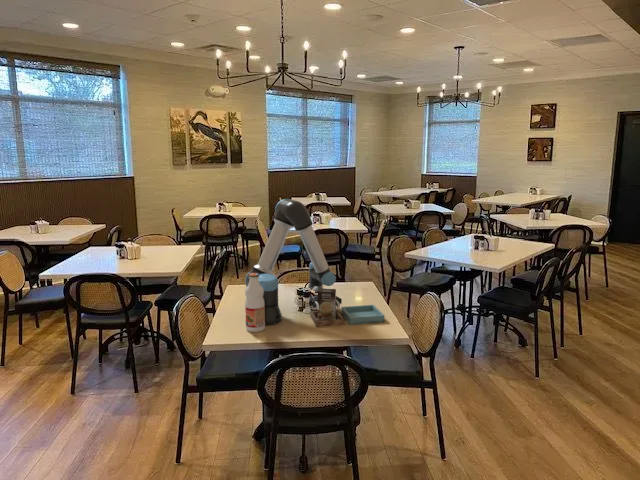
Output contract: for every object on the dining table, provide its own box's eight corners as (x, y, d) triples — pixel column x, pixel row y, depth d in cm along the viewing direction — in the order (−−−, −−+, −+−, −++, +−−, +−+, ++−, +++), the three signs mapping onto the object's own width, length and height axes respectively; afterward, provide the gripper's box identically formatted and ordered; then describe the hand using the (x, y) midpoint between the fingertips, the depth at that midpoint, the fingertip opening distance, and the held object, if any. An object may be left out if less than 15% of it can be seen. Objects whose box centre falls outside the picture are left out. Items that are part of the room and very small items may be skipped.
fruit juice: (265, 332, 242) (263, 276, 236) (245, 332, 241) (243, 276, 236) (265, 325, 251) (263, 271, 246) (246, 326, 250) (244, 271, 245)
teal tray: (350, 324, 251) (350, 318, 250) (341, 313, 268) (341, 307, 267) (384, 321, 254) (384, 315, 254) (373, 310, 272) (373, 304, 271)
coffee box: (317, 322, 254) (317, 291, 251) (318, 317, 261) (318, 288, 258) (335, 322, 254) (335, 292, 251) (336, 318, 260) (336, 288, 257)
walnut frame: (316, 326, 248) (316, 322, 247) (310, 316, 264) (310, 311, 263) (344, 324, 251) (344, 319, 250) (336, 314, 266) (336, 309, 266)
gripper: (339, 299, 276) (350, 312, 254) (299, 302, 271) (306, 315, 250) (339, 286, 274) (350, 298, 253) (299, 289, 270) (306, 301, 248)
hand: (328, 306), depth 251 cm, fingers closed on coffee box, 10 cm apart
